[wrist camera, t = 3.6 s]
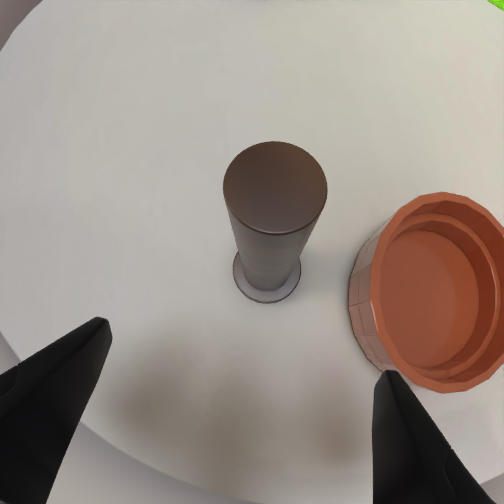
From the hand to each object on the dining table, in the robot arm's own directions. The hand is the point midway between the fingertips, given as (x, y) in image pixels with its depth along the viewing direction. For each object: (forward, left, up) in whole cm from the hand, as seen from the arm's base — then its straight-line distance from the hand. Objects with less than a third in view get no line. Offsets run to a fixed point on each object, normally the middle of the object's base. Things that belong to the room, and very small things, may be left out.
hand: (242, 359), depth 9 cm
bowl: (+10, -7, -11) cm, 17 cm away
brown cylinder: (+4, +3, -11) cm, 12 cm away
